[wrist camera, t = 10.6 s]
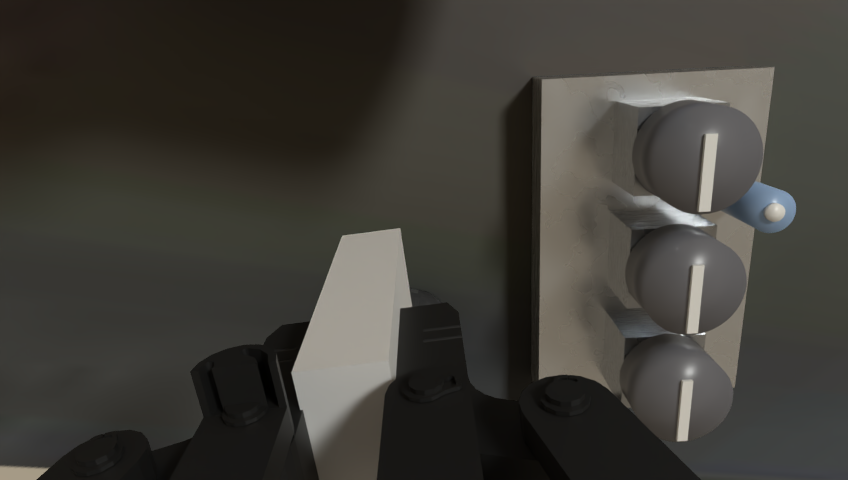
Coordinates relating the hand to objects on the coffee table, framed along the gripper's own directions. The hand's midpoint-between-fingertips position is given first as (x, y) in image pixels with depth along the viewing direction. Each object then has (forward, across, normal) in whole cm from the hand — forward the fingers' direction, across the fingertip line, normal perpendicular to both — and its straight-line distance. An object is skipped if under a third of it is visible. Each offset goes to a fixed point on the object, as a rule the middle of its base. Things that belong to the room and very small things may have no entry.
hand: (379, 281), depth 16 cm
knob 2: (+22, +14, -16) cm, 31 cm away
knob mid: (+22, +15, -9) cm, 28 cm away
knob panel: (+26, +15, -9) cm, 31 cm away
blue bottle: (+23, +20, -6) cm, 31 cm away
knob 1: (+23, +16, -2) cm, 27 cm away
